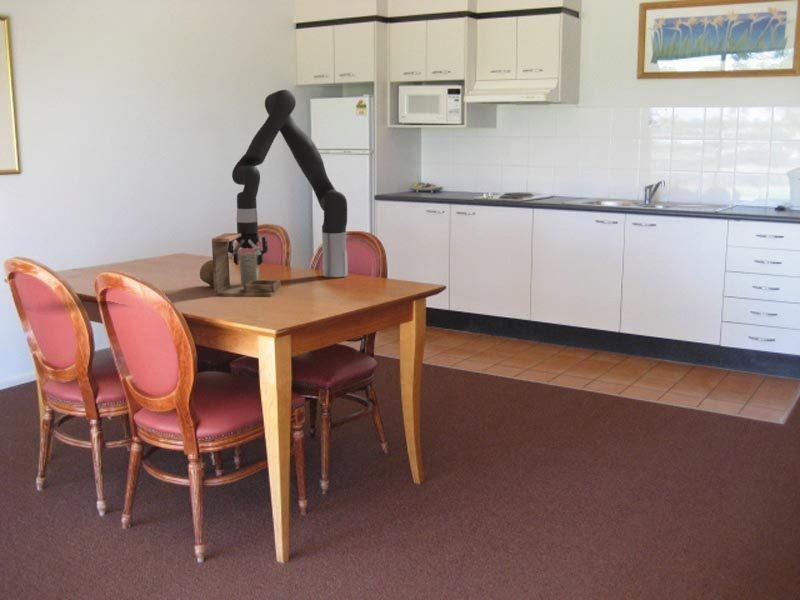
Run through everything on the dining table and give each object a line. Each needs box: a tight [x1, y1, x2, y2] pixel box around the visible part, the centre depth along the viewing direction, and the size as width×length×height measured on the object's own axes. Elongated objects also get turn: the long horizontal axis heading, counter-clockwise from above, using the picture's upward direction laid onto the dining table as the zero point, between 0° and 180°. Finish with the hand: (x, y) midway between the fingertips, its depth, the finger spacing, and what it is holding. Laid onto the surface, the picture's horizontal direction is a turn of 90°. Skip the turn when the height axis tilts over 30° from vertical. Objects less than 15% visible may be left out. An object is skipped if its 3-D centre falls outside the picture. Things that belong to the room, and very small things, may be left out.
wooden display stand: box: [211, 232, 282, 297], centre depth 312 cm, size 20×16×20 cm
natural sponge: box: [199, 259, 214, 288], centre depth 324 cm, size 9×9×10 cm
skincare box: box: [238, 251, 261, 286], centre depth 326 cm, size 6×4×12 cm
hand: (248, 264), depth 326 cm, fingers open, 8 cm apart
